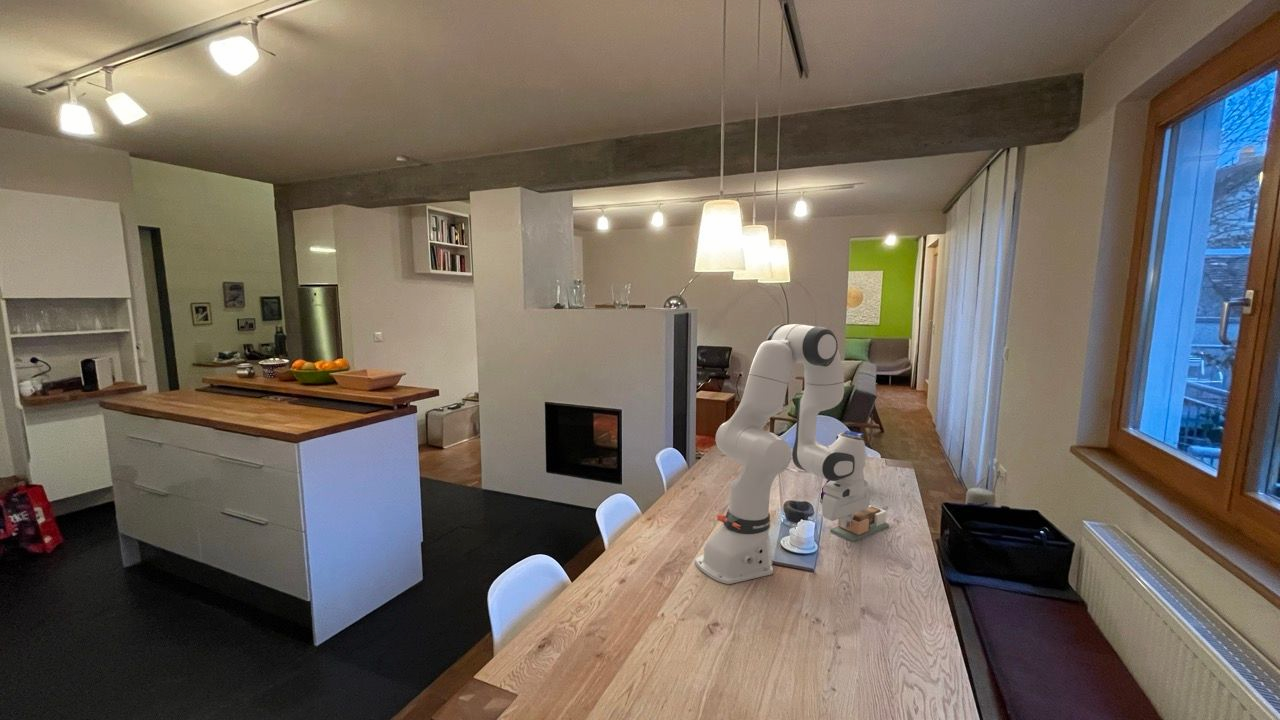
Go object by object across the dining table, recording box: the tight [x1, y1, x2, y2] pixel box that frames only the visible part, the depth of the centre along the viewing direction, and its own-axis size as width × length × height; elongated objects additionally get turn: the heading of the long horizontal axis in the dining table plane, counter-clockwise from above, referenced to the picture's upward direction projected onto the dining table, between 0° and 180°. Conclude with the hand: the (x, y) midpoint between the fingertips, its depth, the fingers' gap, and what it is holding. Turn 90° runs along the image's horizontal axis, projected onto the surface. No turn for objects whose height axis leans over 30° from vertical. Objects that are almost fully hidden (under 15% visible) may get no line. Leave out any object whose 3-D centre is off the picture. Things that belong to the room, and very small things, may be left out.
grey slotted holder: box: [830, 505, 890, 543], centre depth 160 cm, size 20×8×5 cm, turn 123°
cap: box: [837, 519, 869, 535], centre depth 158 cm, size 6×7×4 cm
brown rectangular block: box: [853, 505, 881, 525], centre depth 162 cm, size 12×3×4 cm, turn 123°
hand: (845, 526), depth 156 cm, fingers closed
